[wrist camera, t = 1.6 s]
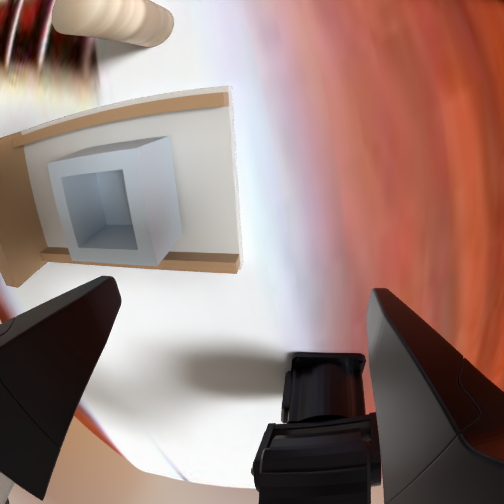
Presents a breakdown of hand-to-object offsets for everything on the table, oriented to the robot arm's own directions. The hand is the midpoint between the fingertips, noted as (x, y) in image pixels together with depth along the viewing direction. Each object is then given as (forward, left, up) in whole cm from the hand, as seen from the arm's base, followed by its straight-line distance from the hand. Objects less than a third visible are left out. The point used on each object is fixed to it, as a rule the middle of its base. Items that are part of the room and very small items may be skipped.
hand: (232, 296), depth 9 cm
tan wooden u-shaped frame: (+12, 0, -12) cm, 17 cm away
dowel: (+7, -11, -12) cm, 18 cm away
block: (+9, 0, -11) cm, 14 cm away
